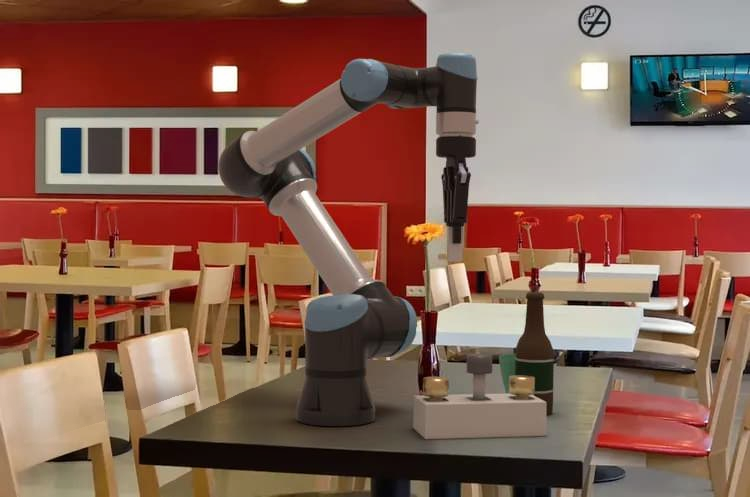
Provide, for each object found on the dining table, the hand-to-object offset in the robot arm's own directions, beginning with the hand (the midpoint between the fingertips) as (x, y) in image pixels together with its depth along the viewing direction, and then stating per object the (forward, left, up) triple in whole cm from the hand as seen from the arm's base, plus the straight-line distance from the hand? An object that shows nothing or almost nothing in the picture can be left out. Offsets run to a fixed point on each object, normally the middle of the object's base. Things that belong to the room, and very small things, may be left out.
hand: (454, 261), depth 205 cm
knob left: (-6, -11, -29) cm, 31 cm away
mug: (+20, +17, -31) cm, 40 cm away
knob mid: (+2, -11, -25) cm, 27 cm away
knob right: (+10, -11, -29) cm, 32 cm away
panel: (+2, -11, -30) cm, 32 cm away
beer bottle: (+18, +6, -31) cm, 36 cm away
